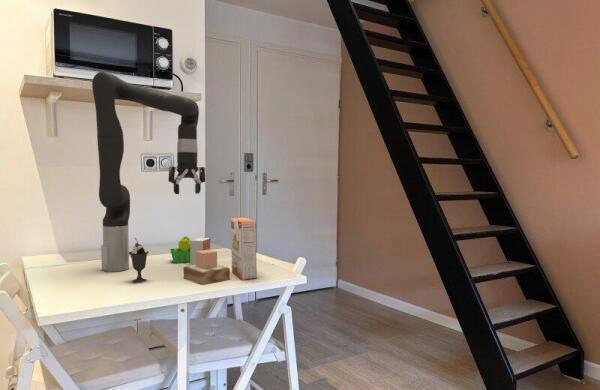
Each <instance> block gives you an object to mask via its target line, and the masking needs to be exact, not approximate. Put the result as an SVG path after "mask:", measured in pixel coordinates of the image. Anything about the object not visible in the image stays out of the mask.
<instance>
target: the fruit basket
mask: <svg viewBox="0 0 600 390" xmlns="http://www.w3.org/2000/svg"><path fill="white" fill-rule="evenodd" d="M190 241H191V240H190V238H189V236H187V235H183V237H181V238H180V240H179V241H178V244H177V246H178V247H176V248H170V249H169V250H170V254H171V258H172V262H173V263H174V264H177V263H178V264H179V263H190Z"/></svg>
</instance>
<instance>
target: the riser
mask: <svg viewBox="0 0 600 390" xmlns="http://www.w3.org/2000/svg"><path fill="white" fill-rule="evenodd" d="M230 273H231V270H230V268H229V267H228V266H224V265H220V264H217V267H214V268H208V269H201V268H198V267H196V265H191V264H190V265H185V266H183V279H185V280H189V281H191V282H194V283H197V284H199V285H201V286H203V285H208V284H214V283H219V282H224V281H230V280H231V277H230V275H231V274H230Z"/></svg>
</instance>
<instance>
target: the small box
mask: <svg viewBox="0 0 600 390" xmlns="http://www.w3.org/2000/svg"><path fill="white" fill-rule="evenodd" d="M202 250H211V238H209V237H197V238H194V239H193V240H190V262H189V263H190V265H196V261H195V251H202Z"/></svg>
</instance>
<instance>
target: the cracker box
mask: <svg viewBox="0 0 600 390" xmlns="http://www.w3.org/2000/svg"><path fill="white" fill-rule="evenodd" d="M230 226H231V227H230V231H231V232H230V233H231V234H230V236H231V237H230V238H231V239H230V240H231V242H230V243H231V272H232V273H233V274H235V276H237V278H239V279H240V280H241V281H247V280H253V279H254V280H256V279H257V268H258V267H257V221H256V220H252V219H250V218H249V217H248V218H247V217H242V216H241V217H240V216H239V217H230Z"/></svg>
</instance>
